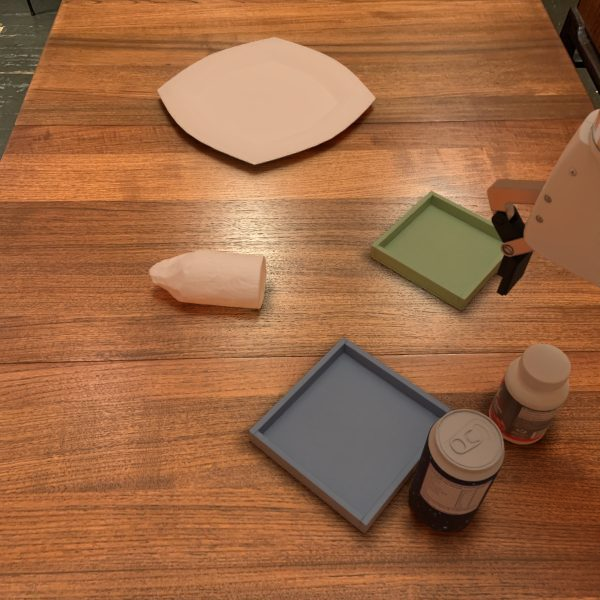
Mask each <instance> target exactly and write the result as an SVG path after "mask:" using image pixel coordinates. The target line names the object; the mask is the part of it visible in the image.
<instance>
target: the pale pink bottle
mask: <svg viewBox="0 0 600 600" xmlns="http://www.w3.org/2000/svg"><path fill="white" fill-rule="evenodd" d="M148 275H149V277H150V279H151V282H152V283H153V284H154V285H155V286H158V287H160V288H162V289H164V290H165V291H167V292H168V293H169V294H170V295H171V297H173V298H174V299H175V300H176V301H177V302H180V303H188V304H198V305H208V306H220V307H221V306H222V307H230V308H244V309H257V310H259V309H261V307H262V306H263V303H264V299H265V291H266V282H267V259H266V256H265V255H257V254H248V253H238V252H229V251H228V252H227V251H218V250H211V249H196V250H194V251H191V252H187V253H182V254H179V255H176V256H173V257H170V258H166V259H163V260H161V261H159V262H156V263H155V264H153V265H152V266H151V267H150V268H149V269H148Z"/></svg>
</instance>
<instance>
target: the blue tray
mask: <svg viewBox="0 0 600 600" xmlns="http://www.w3.org/2000/svg"><path fill="white" fill-rule="evenodd" d="M451 411H454V410H453V409H451V408H450V407H449V406H448V405H446V404H445V403H443V402H442V401H440V400H439V399H437V398H436V397H434V396H432V395H431V394H429V393H428V392H427V391H425V390H423V389H422V388H421V387H419V386H417V385H416V384H414V383H413V381H410V380H409V379H407V378H405V376H402V375H401V374H400V373H398V372H396V371H395V370H393V369H392V368H391V367H390V366H388V365H386V364H385V363H383V362H382V361H381V360H379V359H377V358H376V357H374V356H373V355H371V354H370V353H368V352H367V351H366V350H364V349H363V348H361V347H359V346H358V345H356V344H355V343H354V342H352V341H351V340H349V339H348V338H346V337H344V336H343V337H342V338H341V339H340V340H338V341H337V343H336V344H334V345H333V347H332V348H331V349H330V350H328V352H327V353H326V354H324V355H323V357H321V359H320V360H319V361H318V362H316V364H315V365H313V367H311V368H310V369H309V371H308V372H307V373H305V374H304V375H303V377H302V378H301V379H300V380H298V381H297V382H296V383H295V384H294V385H293V386H292V388H291V389H289V390H288V391H287V393H285V395H283V396H282V397H281V398H280V399H279V400H278V401H277V402H276V403H275V404H274V405H273V406H272V407H271V408H270V409H269V410H268V411H267V412H266V413H265V414H264V415H263V416H262V417H261V418H260V419H259V420H258V421H257V422H256V423H255V424H254V425H253V426H252V427H251V428H250V429H249V430H248V437H249V442H250V443H251V444H253V445H254V446H256V447H257V448H258V449H259V450H260V451H261V452H263V453H264V454H265V455H266V456H268V457H269V458H270V459H271V460H273V461H274V462H275V463H276V464H278V465H279V466H280V467H281V468H282V469H284V470H285V471H286V472H287V473H289V474H290V476H292V477H294V478H295V479H296V480H297V481H298V482H300V483H301V484H302V485H303V486H305V487H306V488H307V489H308V490H309V491H311V492H312V493H313V494H314V495H316V496H317V497H318V498H319V499H321V501H323V502H324V503H325V504H326V505H328V506H329V507H330V508H332V509H333V510H334V511H335V512H336V513H338V514H339V515H340V516H342V517H343V518H344V520H346V521H347V522H349V523H350V524H351V525H353V527H355V528H356V529H358V530H359V531H360V532H361V533H362V534H364V535H365V534H366V533H367V532H368V531H369V529H371V528H372V526H373V524H374V523H375V522H376V521H377V519H378V518H379V517H380V516H381V514H382V513H383V512H384V511H385V509H386V508H387V507H388V505H390V503H391V502H392V501H393V499H394V498H395V497H396V496H397V494H398V493H399V491H400V490H401V489H402V488H403V486H404V485H405V484H407V482H408V481H409V479H410V478H411V476H412V475H413V474H415V472H416V469H417V466H418V463H419V460H420V457H421V454H422V451H423V448H424V445H425V442H426V439H427V436H428V433H429V430H430V428H431V427H432V425H433V424H434V423H435V422H436V421H437V420H438V419H440V418H441V417H443V416H444V415H446V414H447V413H449V412H451Z"/></svg>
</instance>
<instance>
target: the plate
mask: <svg viewBox="0 0 600 600" xmlns="http://www.w3.org/2000/svg"><path fill="white" fill-rule="evenodd" d="M156 92H157V94H158V95H159V97H160V99H161V101H162V103H163V105H164V107H165V108H166V110H167V112H168V113H169V114H170V116H171V118H172V119H173V120H174V121H175V122H176V124H177V125H178V126H179V127H180V128H181V129H182V130H183V131H184V132H185V133H186V134H188V135H189V136H191V137H192V138H194V139H195V140H196V141H198V142H199V143H201V144H203V145H205V146H207V147H209V148H211V149H213V150H215V151H217V152H220V153H222V154H225V155H227V156H229V157H232V158H234V159H237V160H240V161H242V162H245V163H247V164H250V165H252V166H258V165H263V164H266V163H269V162H272V161H276V160H279V159H283V158H286V157H290V156H293V155H296V154H298V153H301V152H304V151H307V150H309V149H313V148H315V147H317V146H319V145H321V144H324V143H327V142H328V141H331V140H332V139H333V138H335V137H337V136H338V135H339V134H341V133H342V132H344V131H345V130H347V129H348V128H349V127H350V126H352V124H354V123H355V122H356V121H357V120H358V119H359V118H360V117H361V116H362V115H363V114H364V113H365V112H366V111H367V110H368V109H369V108H370V106H372V104H373V103H374V102H375V101H376V99H377V98H376V96H375V95H374V94H373V93H372V92H371V91H370V89H369V88H368V87H367V86H366V85H365V84H364V83H363V82H362V80H361V79H360V78H358V76H357V75H356V74H354V72H352V71H351V70H350V69H349V68H348V67H347V66H345V65H344V64H342V63H340V62H339V61H338V60H336V59H335V58H333V57H330V56H329V55H327V54H325V53H323V52H321V51H318V50H316V49H313V48H310V47H308V46H306V45H305V46H304V45H302V44H299V43H296V42H294V41H293V42H292V41H289V40H286V39H284V38H281V37H277V36H272V37H268V38H264V39H259V40H254V41H251V42H247V43H243V44H238V45H236V46H232V47H229V48H226V49H223V50H220V51H216V52H213V53H211V54H209V55H207V56H205V57H203V58H201V59H199V60H198V61H195V62H194V63H192V64H190V65H188V66H187V67H186V68H184V69H183V70H181V71H180V72H178V73H177V74H176V75H174V76H173V77H171V78H170V79H169V80H167V81H166V82H165V83H163V85H161V86H160V87H159V88H157V89H156Z"/></svg>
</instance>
